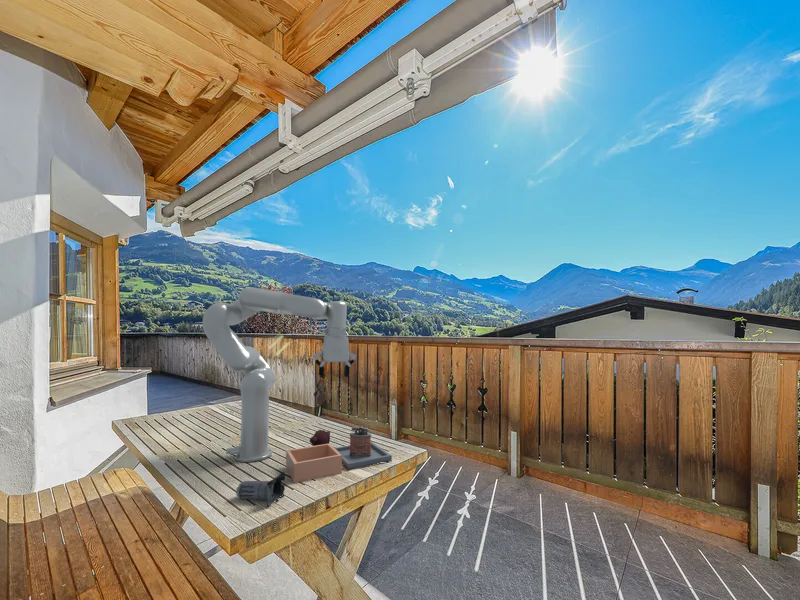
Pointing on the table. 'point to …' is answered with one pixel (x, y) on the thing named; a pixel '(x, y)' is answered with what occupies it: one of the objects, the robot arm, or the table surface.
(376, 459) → the tray
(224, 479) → the table surface
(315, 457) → the pink open box
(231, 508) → the table surface
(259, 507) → the table surface
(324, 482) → the table surface
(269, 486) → the dark blue piece
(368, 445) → the lighter
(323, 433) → the icecream
